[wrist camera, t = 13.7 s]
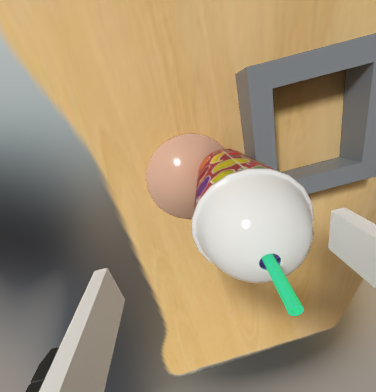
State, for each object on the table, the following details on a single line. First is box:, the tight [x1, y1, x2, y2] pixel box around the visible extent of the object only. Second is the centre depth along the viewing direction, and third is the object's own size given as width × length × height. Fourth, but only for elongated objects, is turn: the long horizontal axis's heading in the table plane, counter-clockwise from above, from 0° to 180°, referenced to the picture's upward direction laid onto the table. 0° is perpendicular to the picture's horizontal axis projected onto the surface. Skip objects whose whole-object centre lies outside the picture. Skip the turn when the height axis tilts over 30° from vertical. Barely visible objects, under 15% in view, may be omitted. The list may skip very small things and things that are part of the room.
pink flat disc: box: [146, 134, 224, 219], centre depth 27 cm, size 12×12×1 cm
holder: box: [235, 33, 376, 194], centre depth 24 cm, size 16×16×4 cm
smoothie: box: [192, 149, 314, 316], centre depth 17 cm, size 8×8×20 cm
